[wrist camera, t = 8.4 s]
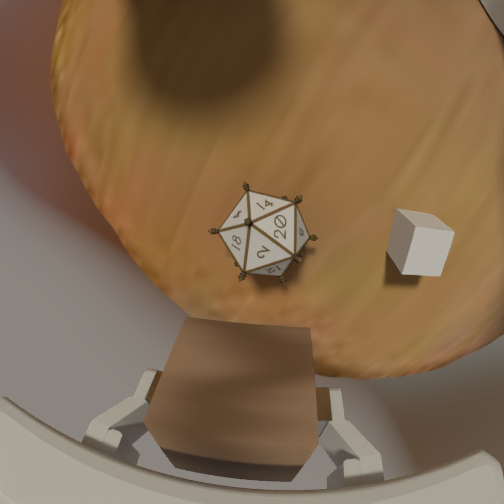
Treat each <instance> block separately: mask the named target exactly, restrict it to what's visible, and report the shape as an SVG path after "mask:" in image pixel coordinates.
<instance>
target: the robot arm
mask: <svg viewBox="0 0 504 504" xmlns="http://www.w3.org/2000/svg"><path fill="white" fill-rule="evenodd" d="M481 2H482V4H483V6H484V8H485V9H486V11H487V13H488V14H489V16H490V17H491V19H492V20H493V22H494V23H495V25H496V26H497V27H498V29H499V30H500V31H501V33H502V34H503V35H504V0H481ZM162 372H163V371H158V370H154V369H150V368H147V369H146V370H145V372H144V374H143V376H142V378H141V381H140V383H139V385H138V388H137V389H136V392H135V394H134V396H133V397H132V396H130V397H128V398H127V399H125V400H123V401H122V402H120V403H119V404H117V405H115V406H114V407H112V408H111V409H109V410H108V411H106V412H104V413H103V414H101V415H99V416H98V417H96V418H95V419H93V420H92V422H91V424H90V426H89V428H88V430H87V432H86V434H85V436H84V439H83V440H82V443H81V442H79V441H76V440H75V439H73V438H71V437H69V436H67V435H65V434H63V433H61V432H60V431H58V430H56V429H54V428H52V427H51V426H49V425H47V424H46V423H44V422H42V421H41V420H39V419H38V418H36V417H34V416H33V415H31V414H30V413H28V412H27V411H25V410H24V409H22V408H21V407H19V406H18V405H17V404H15V403H14V402H13V401H11V400H10V399H9V398H7V397H0V504H504V479H503V473H502V469H501V466H500V463H499V462H498V461H497V460H496V459H495V458H494V457H492V456H491V455H489V454H488V453H487V452H485V451H483V450H477V451H475V452H472V453H470V454H468V455H465V456H463V457H461V458H458V459H456V460H453V461H450V462H448V463H445V464H442V465H440V466H437V467H434V468H431V469H428V470H425V471H421V472H418V473H414V474H411V475H407V476H403V477H399V478H395V479H390V480H386V481H384V476H383V468H382V462H381V455H380V453H379V452H378V451H377V450H376V449H375V448H374V447H373V446H372V445H371V444H370V443H369V442H368V441H367V439H366V438H365V437H363V435H362V434H361V433H360V432H359V431H358V430H357V429H356V428H355V426H354V425H353V424H352V423H351V422H350V421H349V420H345V414H344V406H343V399H342V393H341V389H340V388H339V387H337V388H326V387H324V388H316V403H317V419H318V439H319V442H320V444H321V445H322V447H323V448H324V449H325V451H326V452H327V454H328V455H329V457H330V458H331V459H332V461H333V462H334V464H335V465H336V466H337V469H336V470H334V471H333V472H332V473H331V474H330V475H329V476H328V477H327V489H320V490H261V489H248V488H247V489H246V488H237V487H229V486H222V485H215V484H209V483H203V482H198V481H193V480H188V479H184V478H179V477H175V476H171V475H167V474H164V473H160V472H156V471H153V470H150V469H146V468H143V467H140V466H137V465H136V464H137V461H138V458H139V453H138V451H137V450H136V449H135V448H134V447H133V446H132V444H133V443H134V442H135V441H136V440H138V439H139V438H140V437H141V436H143V435H144V434H145V433H146V432H147V431H148V429H147V427H146V426H145V424H144V422H143V421H144V418H145V416H146V413H147V410H148V408H149V405H150V403H151V400H152V397H153V395H154V392H155V390H156V387H157V385H158V382H159V380H160V377H161V375H162Z"/></svg>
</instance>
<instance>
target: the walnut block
mask: <svg viewBox="0 0 504 504" xmlns="http://www.w3.org/2000/svg"><path fill="white" fill-rule="evenodd" d="M143 422H144V424H145V426H146V427H147V429H148V430H149V432H150V433H151V435H152V436H153V438H154V439H155V441H156V442H157V444H158V445H159V446H160V448H161V449H162V451H163V452H164V453H165V455H166V456H167V457H168V459H169V460H170V461H171V463H172V464H173V465H174V467H175V468H179V469H183V470H187V471H192V472H198V473H203V474H209V475H214V476H221V477H229V478H237V479H246V480H259V481H282V482H291V481H292V480H293V479H294V477H295V476H296V475H297V473H298V472H299V471H300V470H301V468H302V467H303V465H304V464H305V463H306V461H307V460H308V459H309V457H310V456H311V454H312V453H313V451H314V450H315V448H316V447H317V445H318V444H319V439H318V419H317V403H316V388H315V375H314V364H313V353H312V342H311V333H310V328H300V327H283V326H268V325H256V324H244V323H234V322H224V321H215V320H206V319H198V318H190V317H186V318H185V320H184V322H183V325H182V327H181V330H180V332H179V334H178V336H177V339H176V341H175V343H174V346H173V348H172V351H171V353H170V355H169V358H168V360H167V363H166V365H165V368H164V370H163V372H162V375H161V377H160V380H159V382H158V385H157V387H156V390H155V392H154V395H153V397H152V400H151V403H150V405H149V408H148V410H147V413H146V416H145V418H144V421H143Z"/></svg>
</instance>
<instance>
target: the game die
mask: <svg viewBox="0 0 504 504" xmlns="http://www.w3.org/2000/svg"><path fill="white" fill-rule="evenodd" d="M243 187H244V189H245V190H246V192H245V194H244V195H243V196H242V198H241V199H240V201H239V202H238V203H237V205H236V206H235V207H234V209H233V210H232V212H231V213H230V214H229V216H228V217H227V219H226V220H225V221H224V223H223V224H222V226H221V227H220V228H219V230H217V229H216V228H215V229H213V228H212V229H210V230H208V231H209V232H210V233H211V234H217V233H218V234H219V236H220V237H221V239H222V240H223V242H224V244H225V245H226V247H227V248H228V250H229V252H230V253H231V255H232V256H233V258H234V260H235V261H236V262H235V266H239V267H240V269H241V271H242V273H240V276H239V277H238V278H239V282H240V281H242V280H245V279H244V278H245V277H246V274H255V275H268V276H279V277H280V282H282V283H283V284H285V281H286V279H285V277H284V276H283V275H284V273H285V272H286V271H287V269H288V268H289V267H290V265H291V264H292V263H293V261H294V260H295V261H297V263H298V262H302V257H301V256H300V255H298V254H299V253H300V252H301V250H302V249H303V248H304V246H305V245H306V243H307V242H308V241H309V240H310V239H311V240H312V241H313V240H314V241H315V240H317V239H318V237H317V236H315V235H311V236H310V235H309V233H308V231H307V228H306V226H305V223H304V221H303V218H302V216H301V213H300V211H299V209H298V206H297V204H298V203H300V202H301V201H302V195H301V196H297V198H295V200H294V201H291V200H287V196H284V197H282V198H279V197H275V196H272V195H268V194H263V193H259V192H255V191H251V190H249V187H250V186H249V185H248V184H247V183H246V182H244V183H243Z"/></svg>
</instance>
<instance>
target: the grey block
mask: <svg viewBox="0 0 504 504" xmlns="http://www.w3.org/2000/svg"><path fill="white" fill-rule="evenodd" d="M454 234H455V232H454V231H453V230H452V229H450V228H449V227H448V226H447V225H446V224H444V223H443V222H442V221H441V220H439V219H438V218H437V217H436V216H434V215H433V214H428V213H422V212H416V211H410V210H403V209H397V208H396V212H395V216H394V221H393V225H392V229H391V234H390V238H389V242H388V246H387V250H386V251H387V253H388V254H389V256H390V257H391V259H392V260H393V262H394V263H395V265H396V266H397V268H398V269H399V271H400V272H401V274H406V275H424V276H440V275H441V272H442V270H443V267H444V264H445V261H446V259H447V256H448V253H449V250H450V247H451V243H452V240H453V237H454Z"/></svg>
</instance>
